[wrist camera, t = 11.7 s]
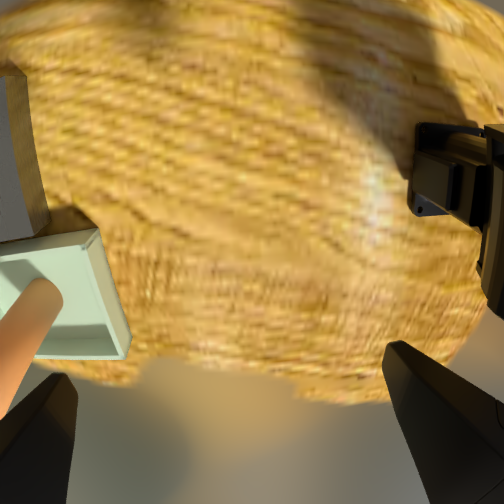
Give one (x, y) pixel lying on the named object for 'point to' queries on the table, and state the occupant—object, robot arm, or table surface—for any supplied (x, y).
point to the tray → (70, 294)
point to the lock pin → (25, 334)
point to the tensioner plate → (19, 165)
